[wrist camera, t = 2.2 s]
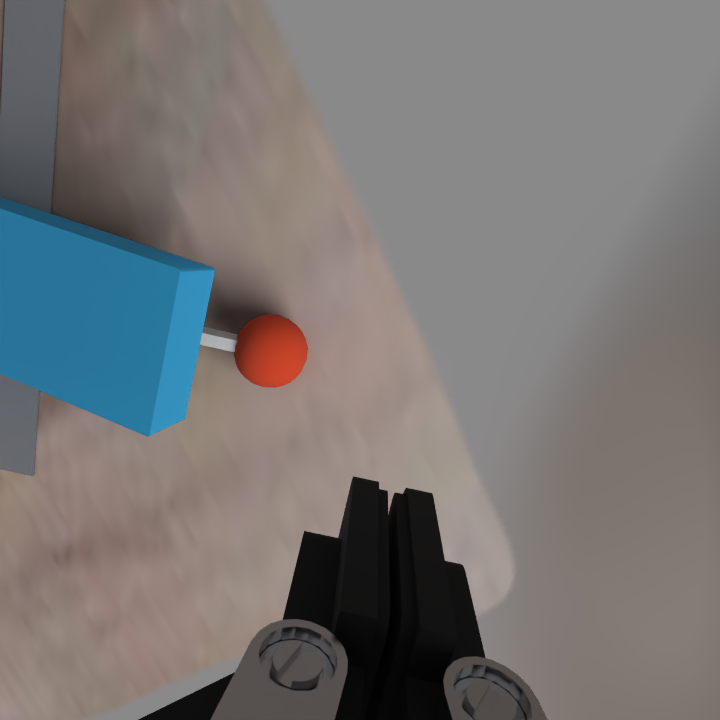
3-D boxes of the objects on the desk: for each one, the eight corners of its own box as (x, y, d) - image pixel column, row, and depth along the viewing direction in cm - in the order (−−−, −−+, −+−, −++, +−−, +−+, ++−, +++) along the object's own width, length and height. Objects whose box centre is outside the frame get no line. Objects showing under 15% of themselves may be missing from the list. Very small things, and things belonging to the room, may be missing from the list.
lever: (20, 311, 32) (300, 420, 28) (-114, 325, 25) (228, 471, 21) (34, 191, 30) (334, 288, 26) (-106, 172, 23) (269, 299, 19)
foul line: (34, 474, 29) (33, 476, 29) (-13, 465, 29) (-14, 466, 29) (65, -1, 23) (63, -2, 23) (7, -15, 23) (5, -16, 23)
